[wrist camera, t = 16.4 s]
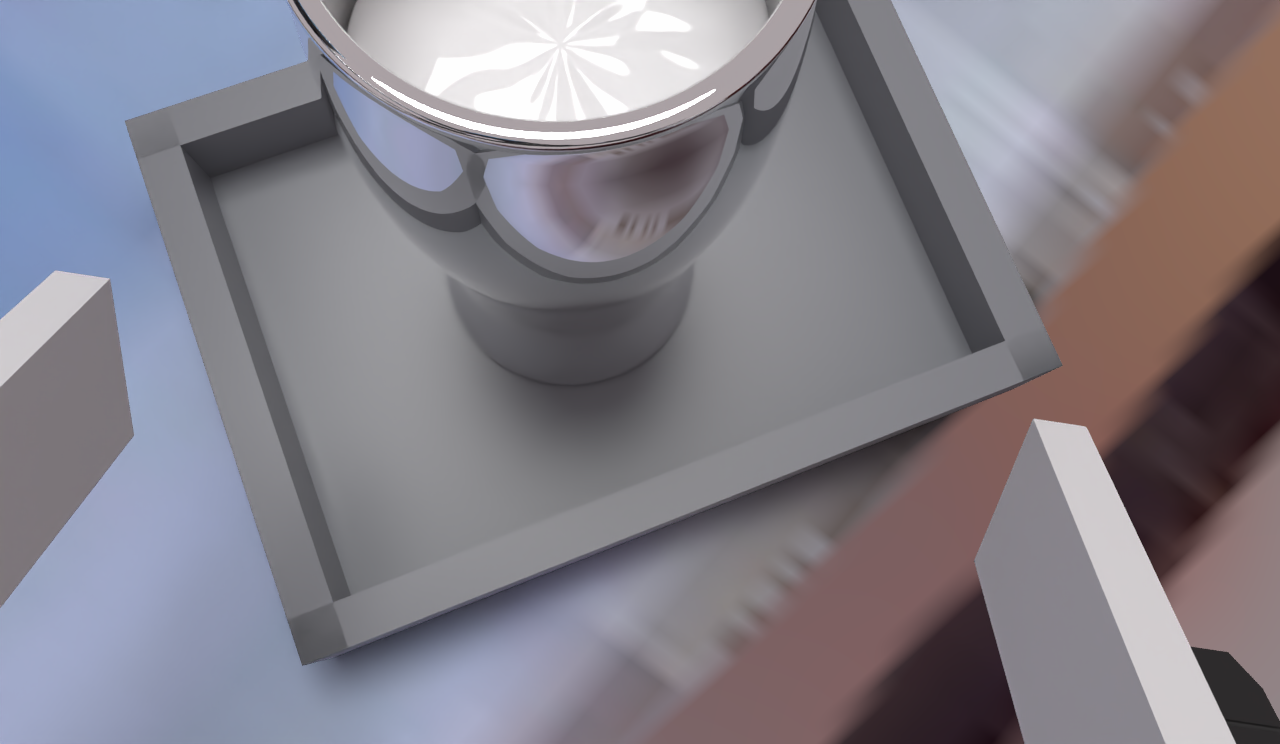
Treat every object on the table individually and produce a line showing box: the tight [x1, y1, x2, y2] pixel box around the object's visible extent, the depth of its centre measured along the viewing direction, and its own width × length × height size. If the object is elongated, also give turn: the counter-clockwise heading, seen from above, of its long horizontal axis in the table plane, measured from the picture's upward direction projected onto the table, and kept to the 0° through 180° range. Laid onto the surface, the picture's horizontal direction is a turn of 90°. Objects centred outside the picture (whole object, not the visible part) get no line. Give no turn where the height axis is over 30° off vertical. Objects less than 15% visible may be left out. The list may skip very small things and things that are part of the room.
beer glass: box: [286, 0, 818, 385], centre depth 19 cm, size 7×7×15 cm
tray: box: [125, 0, 1062, 666], centre depth 26 cm, size 18×13×3 cm
